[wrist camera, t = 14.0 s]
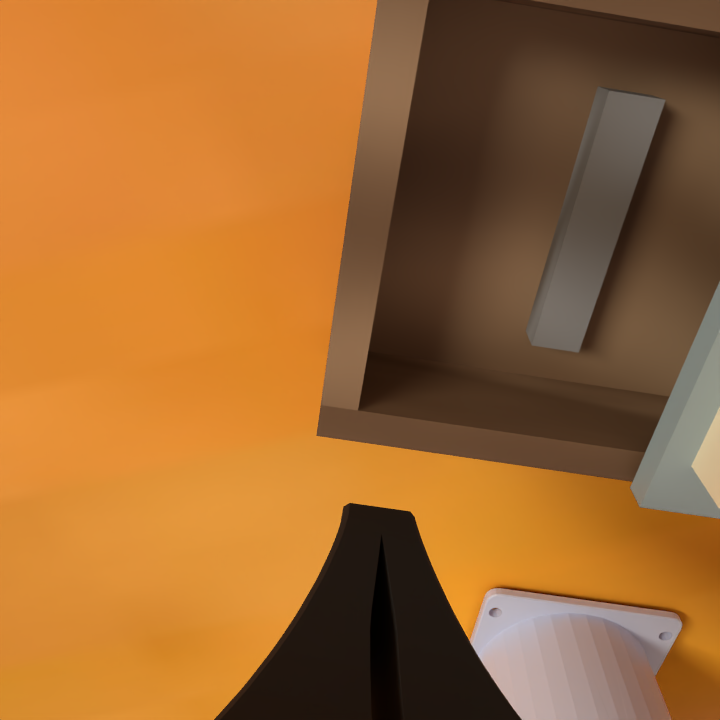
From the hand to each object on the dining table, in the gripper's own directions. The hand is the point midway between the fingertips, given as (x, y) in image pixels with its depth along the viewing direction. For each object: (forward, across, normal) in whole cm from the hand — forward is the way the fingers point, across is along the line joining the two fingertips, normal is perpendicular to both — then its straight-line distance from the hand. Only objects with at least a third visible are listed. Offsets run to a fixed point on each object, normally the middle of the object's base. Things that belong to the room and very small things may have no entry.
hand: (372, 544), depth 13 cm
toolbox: (+9, -6, -5) cm, 12 cm away
